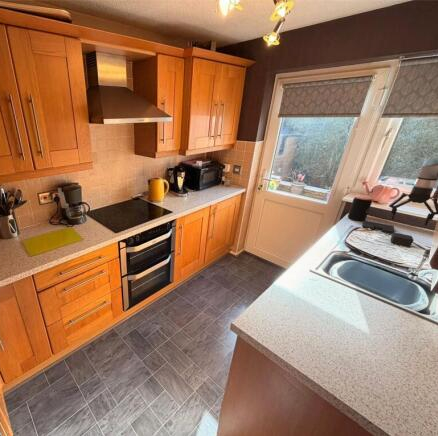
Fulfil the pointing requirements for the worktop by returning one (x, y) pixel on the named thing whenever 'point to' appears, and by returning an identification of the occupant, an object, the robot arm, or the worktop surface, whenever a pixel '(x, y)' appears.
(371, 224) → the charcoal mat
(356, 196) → the coffee jar
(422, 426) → the worktop surface
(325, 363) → the worktop surface
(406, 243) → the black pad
